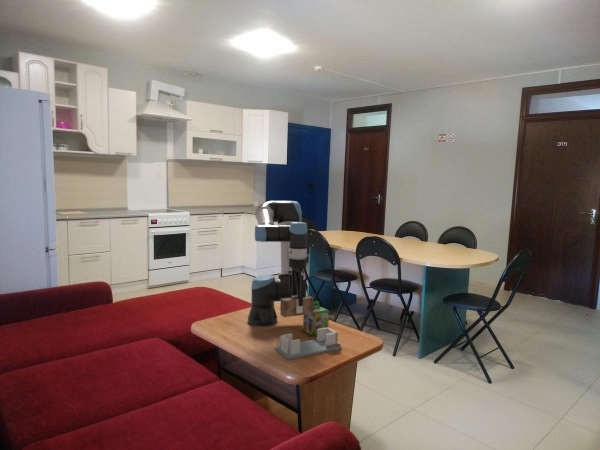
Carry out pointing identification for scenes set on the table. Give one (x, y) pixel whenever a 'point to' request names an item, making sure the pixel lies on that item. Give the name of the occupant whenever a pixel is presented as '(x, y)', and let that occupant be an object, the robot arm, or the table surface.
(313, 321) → the chalk box
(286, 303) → the slat
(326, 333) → the end cap
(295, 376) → the table surface
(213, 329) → the table surface
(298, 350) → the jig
